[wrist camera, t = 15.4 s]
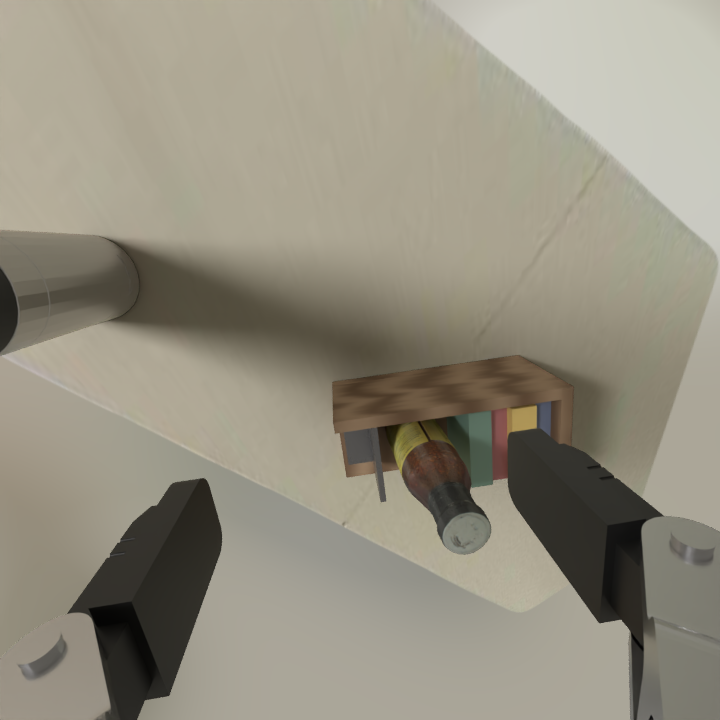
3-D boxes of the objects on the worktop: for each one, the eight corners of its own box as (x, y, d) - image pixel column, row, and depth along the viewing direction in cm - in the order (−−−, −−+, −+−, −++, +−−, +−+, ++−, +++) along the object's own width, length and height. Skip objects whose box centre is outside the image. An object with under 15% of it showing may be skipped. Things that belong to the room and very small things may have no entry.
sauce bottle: (384, 446, 49) (418, 572, 30) (383, 401, 47) (419, 505, 28) (433, 442, 49) (499, 565, 30) (434, 398, 47) (505, 499, 28)
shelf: (346, 471, 51) (350, 532, 40) (332, 381, 47) (333, 422, 36) (518, 444, 52) (568, 497, 41) (518, 355, 48) (573, 386, 37)
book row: (448, 448, 50) (473, 490, 41) (444, 385, 47) (470, 415, 38) (514, 438, 50) (553, 477, 41) (514, 374, 47) (555, 403, 39)
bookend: (348, 463, 49) (352, 506, 41) (338, 400, 47) (340, 432, 38) (376, 459, 49) (386, 501, 41) (368, 396, 47) (377, 427, 39)
